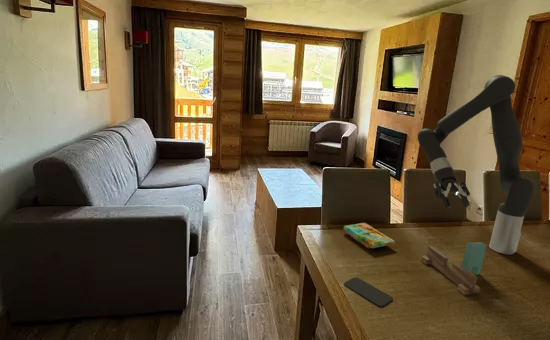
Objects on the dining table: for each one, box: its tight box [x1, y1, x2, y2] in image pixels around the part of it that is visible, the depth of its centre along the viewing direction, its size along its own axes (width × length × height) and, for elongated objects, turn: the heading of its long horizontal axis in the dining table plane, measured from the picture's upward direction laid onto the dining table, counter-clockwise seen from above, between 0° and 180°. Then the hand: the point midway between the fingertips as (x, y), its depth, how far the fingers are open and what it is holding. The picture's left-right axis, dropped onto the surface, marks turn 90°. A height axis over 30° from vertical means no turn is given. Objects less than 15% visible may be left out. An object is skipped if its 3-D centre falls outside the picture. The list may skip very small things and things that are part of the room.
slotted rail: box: [420, 245, 481, 296], centre depth 119 cm, size 6×22×6 cm, turn 14°
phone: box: [343, 276, 394, 308], centre depth 108 cm, size 7×1×15 cm
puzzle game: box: [343, 222, 396, 249], centre depth 144 cm, size 12×5×20 cm
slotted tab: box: [461, 241, 487, 275], centre depth 121 cm, size 6×2×12 cm, turn 104°
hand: (458, 206), depth 128 cm, fingers open, 8 cm apart
